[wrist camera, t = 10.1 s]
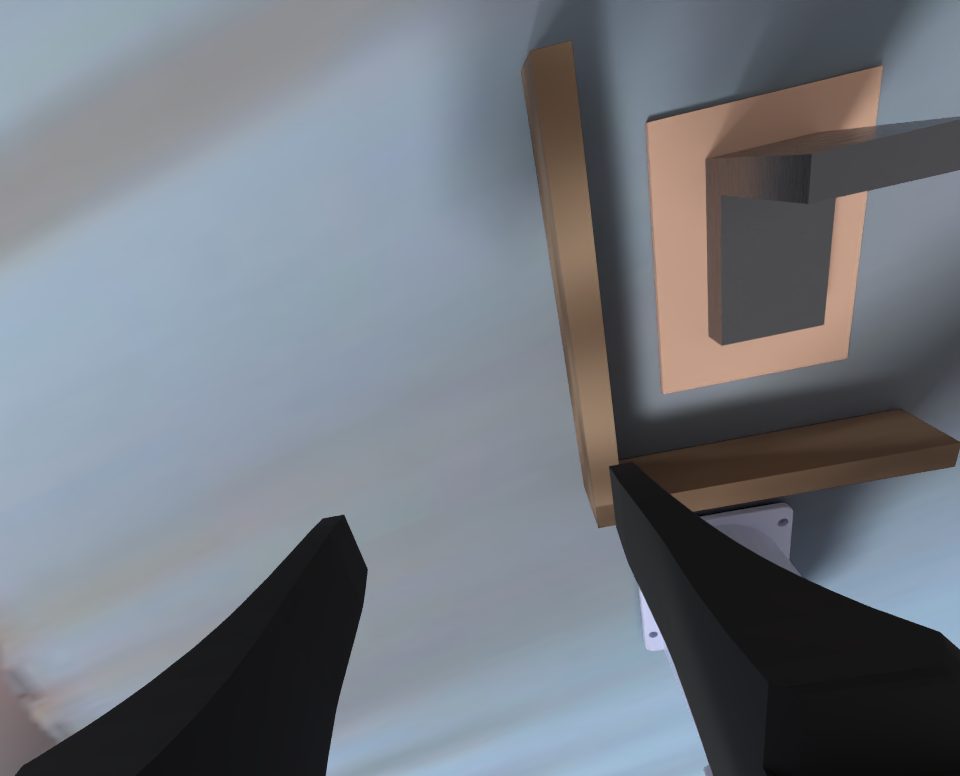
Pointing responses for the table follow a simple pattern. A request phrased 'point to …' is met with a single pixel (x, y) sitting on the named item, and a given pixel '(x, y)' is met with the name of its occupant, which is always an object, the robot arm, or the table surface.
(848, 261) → the mat
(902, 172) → the angle bracket
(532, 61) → the corner walls
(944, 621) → the table surface
